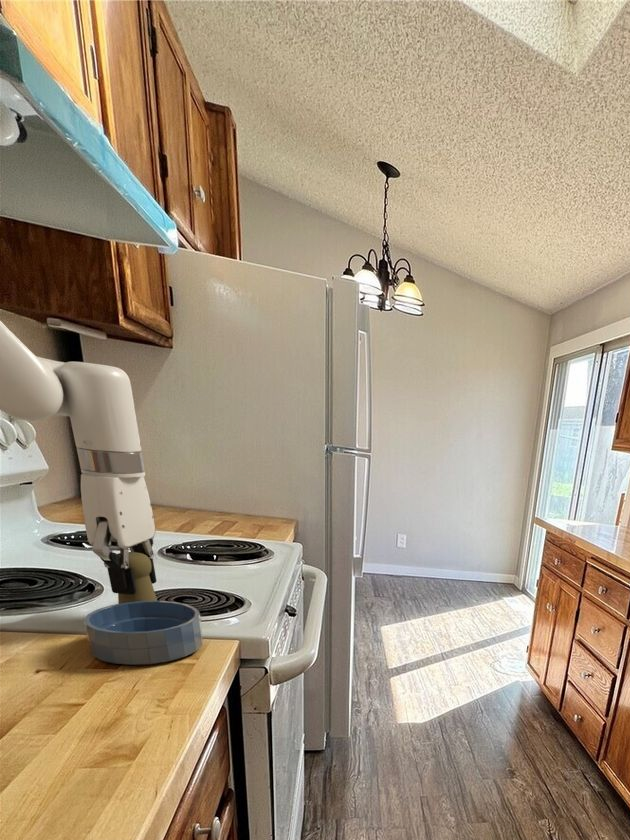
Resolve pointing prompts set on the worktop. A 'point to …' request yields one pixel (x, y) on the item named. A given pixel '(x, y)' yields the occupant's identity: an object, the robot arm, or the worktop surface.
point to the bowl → (144, 632)
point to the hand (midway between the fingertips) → (135, 586)
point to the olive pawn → (139, 579)
